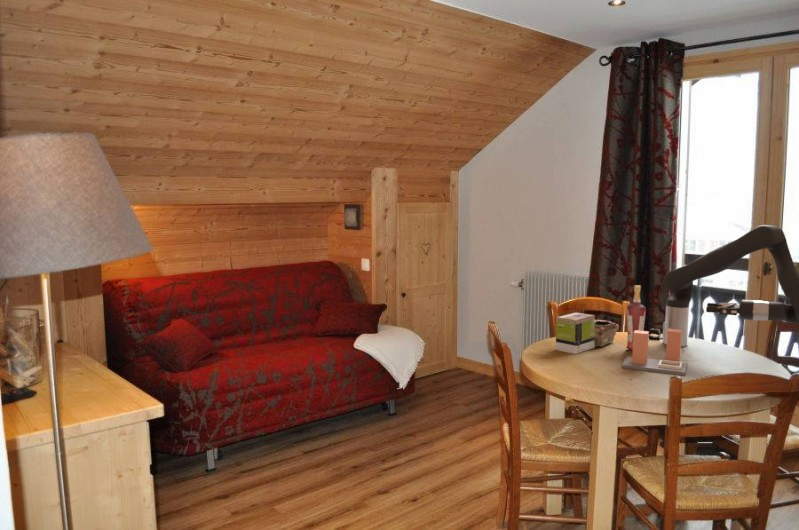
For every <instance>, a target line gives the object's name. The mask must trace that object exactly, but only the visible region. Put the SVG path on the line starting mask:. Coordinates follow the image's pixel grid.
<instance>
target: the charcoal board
mask: <svg viewBox="0 0 799 530" xmlns="http://www.w3.org/2000/svg"><path fill="white" fill-rule="evenodd" d="M649 331H650V330H649ZM649 331H647V330H644V331H639V330H635V331H634V333H633V352H632V356H629V355H628V356H626V358H625V359H624V360H623V363H622V364H621V366H622V369H628V370H636V371H645V372H651V373H652V372H653V373H660V374H661V373H662V374H667V375H668V374H669V375H670V374H671V375H679V376H683V377H684V376H686V373H687V367H688V363H687V362H683V361H680V362H677V361H668V360H666V359H654V358H648V356H649V355H648V354H649V353H648V352H649V339H648V336H649Z"/></svg>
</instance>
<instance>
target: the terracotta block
mask: <svg viewBox="0 0 799 530" xmlns="http://www.w3.org/2000/svg"><path fill="white" fill-rule="evenodd" d="M681 337H682V330H678V329H668V331H667V345H666V353H665V355H666V356H665V360H668V361H677V362H681V353H682V351H681V350H682V347H681Z"/></svg>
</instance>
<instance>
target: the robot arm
mask: <svg viewBox="0 0 799 530" xmlns="http://www.w3.org/2000/svg"><path fill="white" fill-rule="evenodd" d="M760 250H768V252H769V253H770V255H771V257H772V258H773V260H774V264H775V267H776V269H775V270H776V278H777V281H778V284H779V286H780V288H781V289H782V291H783V294H784V296H785V298H786V299H787V300H789V302H790V304H787V303H784V302H781V301H779V302H778V301H767V300H766V301H764V300H759V299H758V300H755V299H740V300H739V301H740V303H739V304H738V303H736V302H734V303H733V302H722V301H721V302H717V303H715V302H714V303H713V302H707V304H706V305H707V306H706V307H705V308H706V310H705V312H706V313H714V314H718V315H725V316H737V315H738V314H739V320H744V321H747V320H749V321H772V322H774V321H775V322H787V323H792V324H799V272H798V270H797V269H796V266H795V263H794V261H793V258H792V255H791V251H790V248H789V245H788V242H787V238H786V234H785V232H784V230H783V229H782V228H781V227H779V226H777V225H773V224H772V225H771V224H762V225H757V226H756V227H754V228H753V229H750V230H749V231H748V232H747V233H745V234H742V236H740V237H738V238H737V239H735V240H732V241H730V242H727V243H726V244H723V245H721V246H719V247H717V248H715V249H713V250H711V251H709V252H707V253H706V254H704V255H702V256H700V257H699V258H697V259H694V260H693V261H692V262H690V263H688V264H686V265H683V266H681V267H678V268H676V269H672V270H670V271H668V272H667V273H665V275H664V277H663V280H662V281H663V282H662V284H663V286H664V288H665V289H667V290H668V291H671V294H670V296H669V297H668V298H667V299H666V303H665V319H664V320H665V321H663V322H662V323H663V324H662V325H663V326H662V338H663V341H661V342H662V343H664V344H665V345H666V346H667V331H668V329H678V330H682V337H681V348H682V347H687V346H688V335H689V334H688V333H689V332H688V330H689V317H690V315H689V313H690V303H691V301H692V298H693V296H692V295H693V289H694V288H693V287H694V281H696V280H700V279H703V278H707V277H710V276H713V275H716V274H719V273H722V272H724V271H726V270H728V269H730V268H732V267H734V266H735V265H736V264H737V263H738V262H740V260H741V259H743V258H744V257H746V256H748V255H749V254H750V255H751V254H752V253H754V252H757V251H760Z"/></svg>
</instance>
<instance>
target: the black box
mask: <svg viewBox="0 0 799 530" xmlns="http://www.w3.org/2000/svg"><path fill="white" fill-rule="evenodd" d="M661 334H662V332H661V329H660V328H653V327H651V328H650V329H649V336H648V340H651V341H658V342H659V341H661V342H663V337H661ZM655 335H656V336H655Z"/></svg>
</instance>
